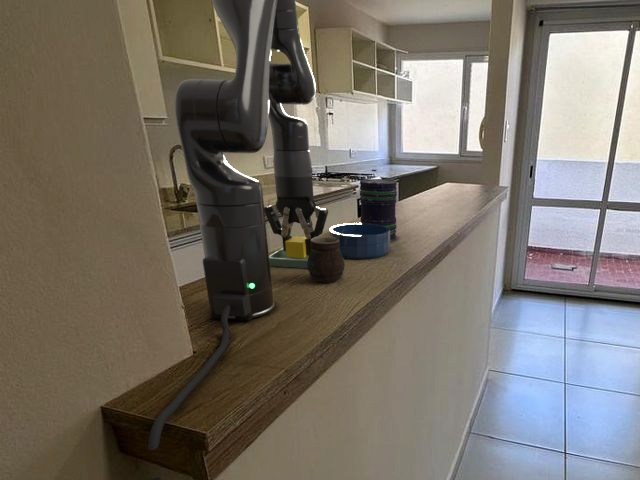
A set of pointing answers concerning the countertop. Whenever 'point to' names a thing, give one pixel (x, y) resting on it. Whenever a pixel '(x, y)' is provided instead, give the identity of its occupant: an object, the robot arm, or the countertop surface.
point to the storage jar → (379, 203)
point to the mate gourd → (325, 259)
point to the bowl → (362, 240)
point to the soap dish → (287, 260)
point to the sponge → (296, 247)
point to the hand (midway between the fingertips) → (299, 253)
